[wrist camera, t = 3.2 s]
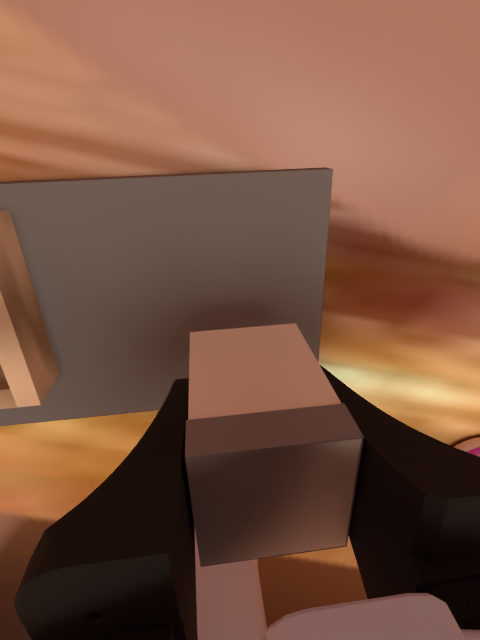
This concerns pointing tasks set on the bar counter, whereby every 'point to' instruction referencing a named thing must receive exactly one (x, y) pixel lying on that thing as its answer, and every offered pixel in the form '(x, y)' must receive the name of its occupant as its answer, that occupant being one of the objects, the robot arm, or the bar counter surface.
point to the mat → (163, 274)
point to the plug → (266, 447)
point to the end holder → (21, 329)
